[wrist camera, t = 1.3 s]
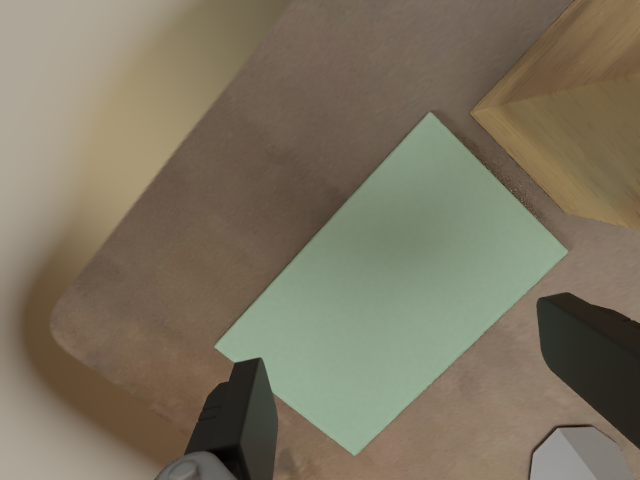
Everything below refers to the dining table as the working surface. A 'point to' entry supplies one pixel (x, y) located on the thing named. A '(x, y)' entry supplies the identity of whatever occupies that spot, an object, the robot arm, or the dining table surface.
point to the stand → (577, 111)
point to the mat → (393, 287)
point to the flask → (579, 457)
